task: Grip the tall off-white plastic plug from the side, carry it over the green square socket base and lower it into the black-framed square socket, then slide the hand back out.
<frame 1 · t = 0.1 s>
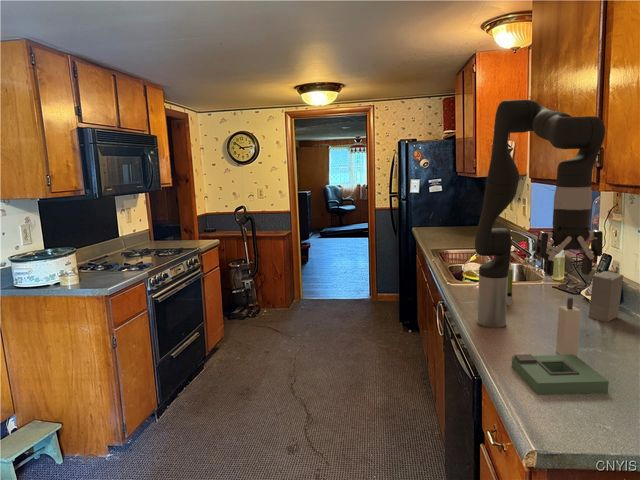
hand: (567, 274, 106), 29 cm above the worktop, tool pointing down, fingers open, 8 cm apart
tea box: (497, 299, 181), on the worktop
green square socket base: (556, 378, 116), on the worktop
plug: (566, 354, 130), on the worktop
skincare box: (603, 318, 157), on the worktop
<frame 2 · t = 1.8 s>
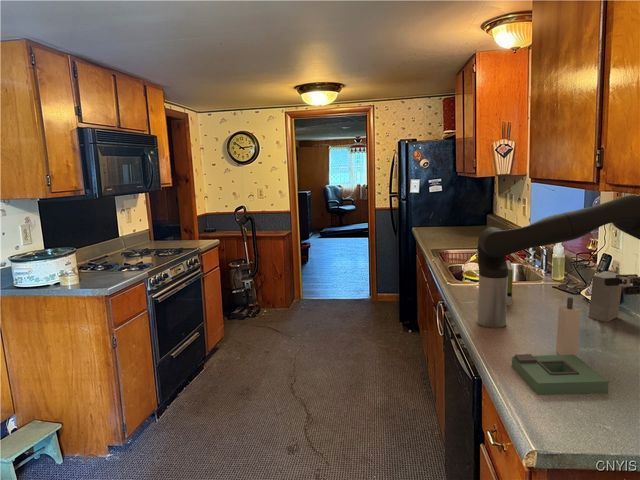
hand: (614, 286, 125), 20 cm above the worktop, tool horizontal, fingers open, 8 cm apart
nothing on the worktop moved.
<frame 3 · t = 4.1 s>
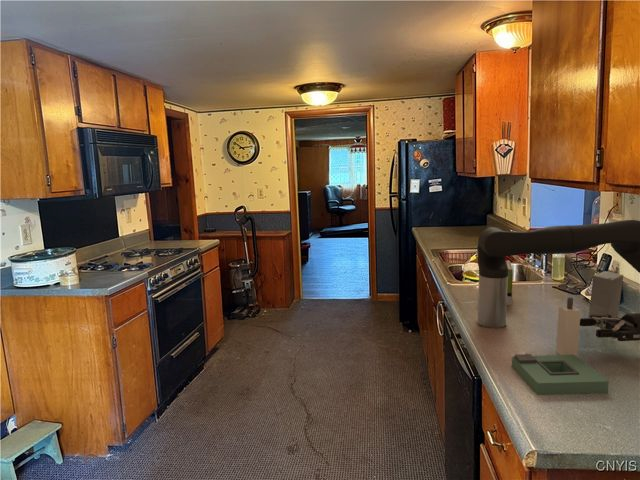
hand: (587, 327, 128), 8 cm above the worktop, tool horizontal, fingers open, 8 cm apart
nothing on the worktop moved.
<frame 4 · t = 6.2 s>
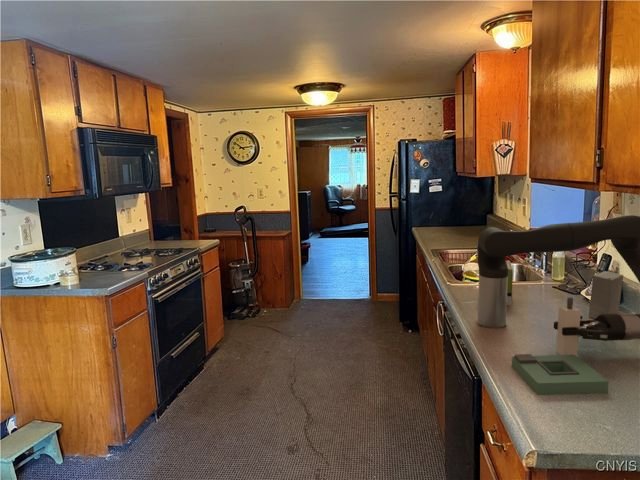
hand: (558, 328, 128), 8 cm above the worktop, tool horizontal, fingers closed on plug, 4 cm apart
plug: (566, 354, 130), on the worktop, touching gripper
everything else where it was.
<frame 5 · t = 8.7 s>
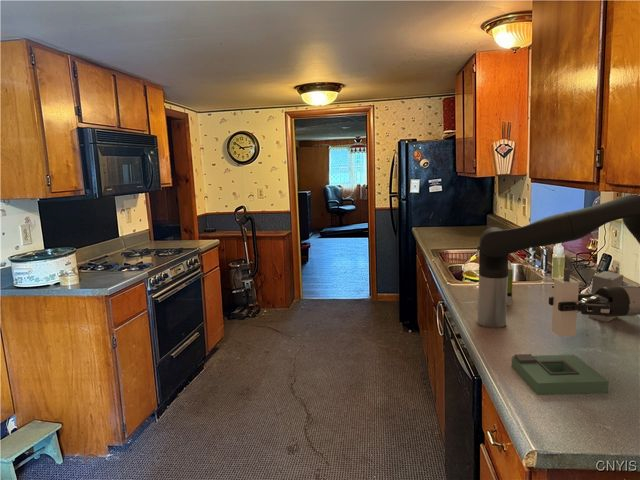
hand: (554, 303, 114), 20 cm above the worktop, tool horizontal, fingers closed on plug, 4 cm apart
plug: (563, 333, 115), point 12 cm above the worktop, touching gripper
everything else where it was.
when the fingers open (9 cm above the worktop, at t = 11.4 s): plug stays where it is, resting in green square socket base.
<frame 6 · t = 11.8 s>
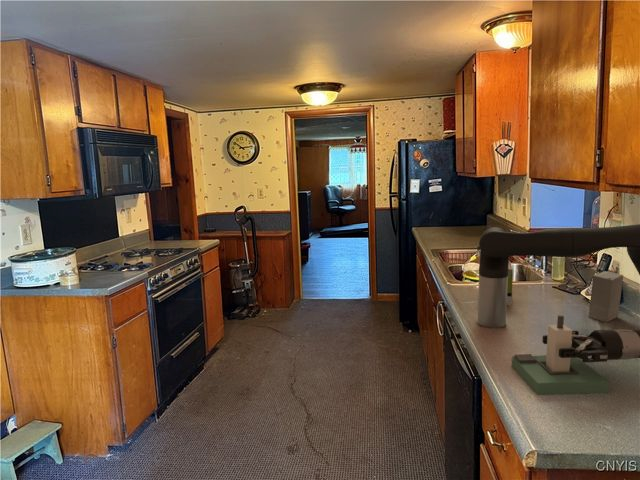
hand: (551, 346, 114), 9 cm above the worktop, tool horizontal, fingers open, 8 cm apart
plug: (556, 378, 116), resting in green square socket base
everything else where it was.
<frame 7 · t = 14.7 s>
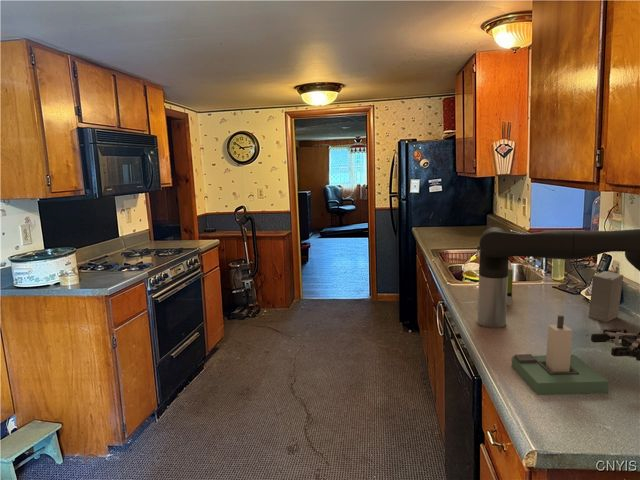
hand: (601, 344, 114), 9 cm above the worktop, tool horizontal, fingers open, 8 cm apart
nothing on the worktop moved.
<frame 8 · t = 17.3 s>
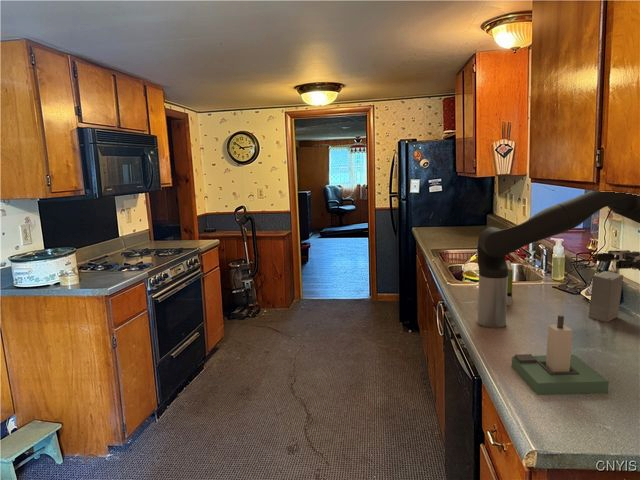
hand: (606, 260, 123), 28 cm above the worktop, tool horizontal, fingers open, 8 cm apart
nothing on the worktop moved.
at the end: plug 0.0 cm off-centre on the green square socket base, point 0.0 cm above the green square socket base's base; plug tilted 0°; the gripper is holding nothing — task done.
